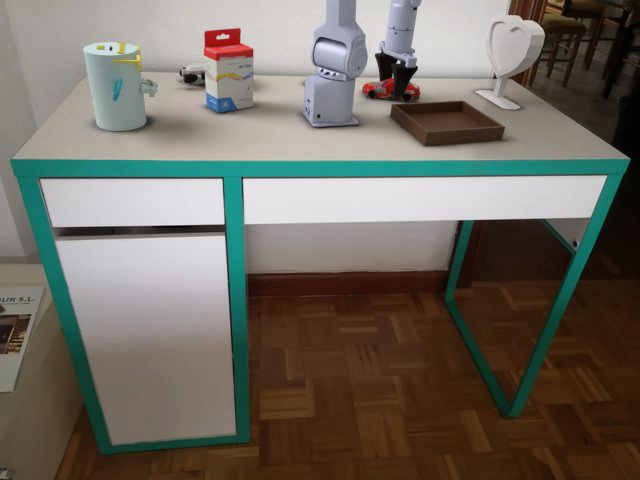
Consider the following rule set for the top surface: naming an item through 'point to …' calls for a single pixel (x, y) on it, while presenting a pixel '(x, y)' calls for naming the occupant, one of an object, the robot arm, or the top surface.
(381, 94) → the race car
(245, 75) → the ink box
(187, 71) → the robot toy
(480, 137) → the tray
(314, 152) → the top surface
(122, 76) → the character sculpture
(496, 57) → the heart sculpture
